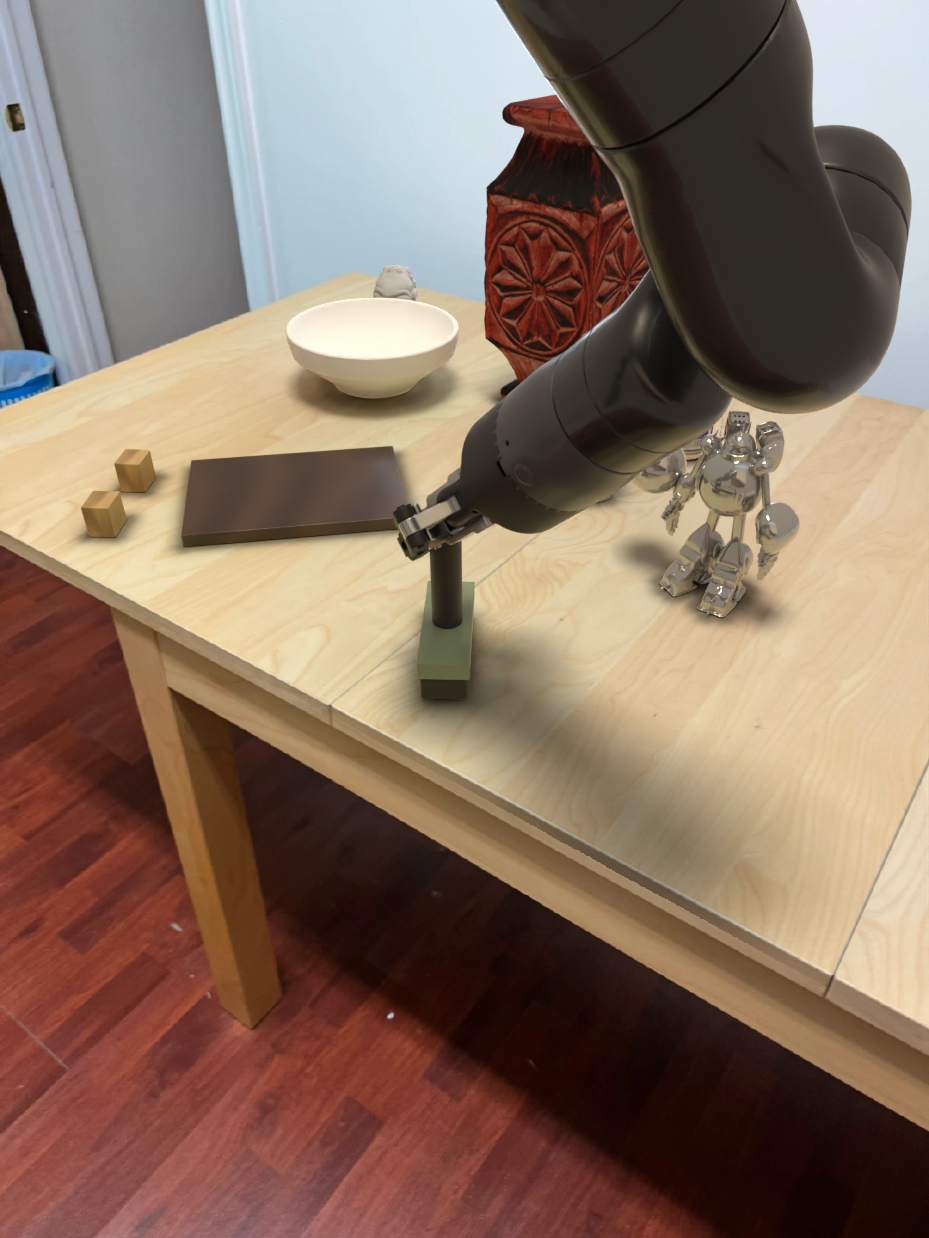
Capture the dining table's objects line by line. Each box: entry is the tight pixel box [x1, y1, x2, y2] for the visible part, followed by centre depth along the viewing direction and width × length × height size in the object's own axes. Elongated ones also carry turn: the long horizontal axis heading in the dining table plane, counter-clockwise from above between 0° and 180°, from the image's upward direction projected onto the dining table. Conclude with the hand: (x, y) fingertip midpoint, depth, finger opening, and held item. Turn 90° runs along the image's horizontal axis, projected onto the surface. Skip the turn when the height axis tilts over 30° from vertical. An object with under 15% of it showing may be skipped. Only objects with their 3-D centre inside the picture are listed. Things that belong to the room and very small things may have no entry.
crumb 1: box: [80, 490, 128, 538], centre depth 79 cm, size 3×3×2 cm
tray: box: [180, 445, 408, 548], centre depth 85 cm, size 20×14×1 cm
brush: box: [416, 540, 476, 701], centre depth 63 cm, size 4×10×13 cm, turn 178°
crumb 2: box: [113, 448, 157, 493], centre depth 86 cm, size 3×3×2 cm
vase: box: [483, 94, 649, 399], centre depth 94 cm, size 14×14×30 cm
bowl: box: [285, 297, 460, 399], centre depth 104 cm, size 20×20×7 cm
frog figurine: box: [372, 264, 419, 301], centre depth 121 cm, size 6×7×7 cm
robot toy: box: [631, 410, 800, 618], centre depth 70 cm, size 15×6×15 cm, turn 43°
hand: (423, 539), depth 63 cm, fingers closed on brush, 2 cm apart
